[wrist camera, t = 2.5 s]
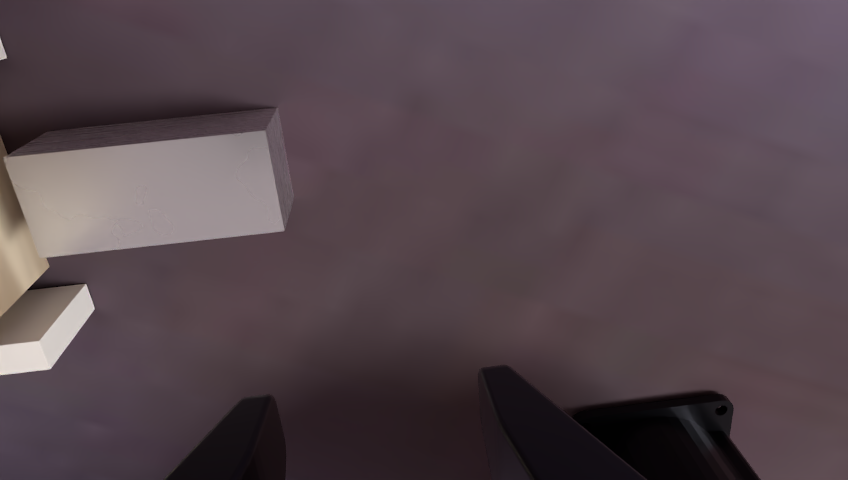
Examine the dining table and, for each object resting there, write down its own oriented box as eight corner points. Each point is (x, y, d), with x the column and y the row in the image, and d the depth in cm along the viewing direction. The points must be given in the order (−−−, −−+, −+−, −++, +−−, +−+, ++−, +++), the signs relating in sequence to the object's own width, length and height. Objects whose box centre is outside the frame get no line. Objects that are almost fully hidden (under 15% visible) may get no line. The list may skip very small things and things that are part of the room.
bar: (278, 105, 20) (265, 130, 18) (294, 195, 22) (284, 231, 19) (51, 129, 20) (2, 157, 17) (81, 218, 21) (39, 258, 19)
